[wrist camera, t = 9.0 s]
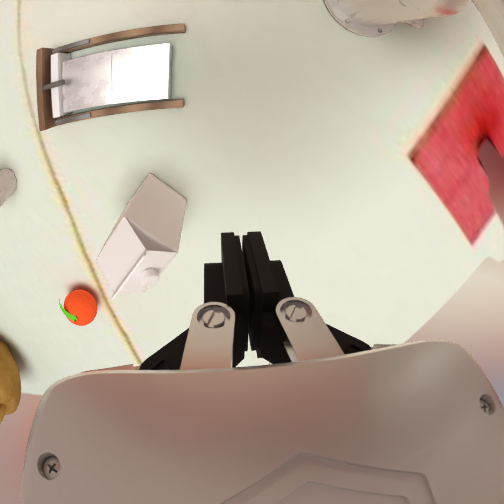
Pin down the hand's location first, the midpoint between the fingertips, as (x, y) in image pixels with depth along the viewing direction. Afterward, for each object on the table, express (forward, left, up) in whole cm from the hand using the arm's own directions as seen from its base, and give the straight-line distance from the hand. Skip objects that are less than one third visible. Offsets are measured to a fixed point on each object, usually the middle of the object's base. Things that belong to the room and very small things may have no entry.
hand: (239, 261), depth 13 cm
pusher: (+23, -11, -31) cm, 40 cm away
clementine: (+28, +28, -31) cm, 51 cm away
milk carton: (+10, +10, -31) cm, 34 cm away
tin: (+10, -10, -32) cm, 35 cm away
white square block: (+18, -10, -32) cm, 38 cm away
